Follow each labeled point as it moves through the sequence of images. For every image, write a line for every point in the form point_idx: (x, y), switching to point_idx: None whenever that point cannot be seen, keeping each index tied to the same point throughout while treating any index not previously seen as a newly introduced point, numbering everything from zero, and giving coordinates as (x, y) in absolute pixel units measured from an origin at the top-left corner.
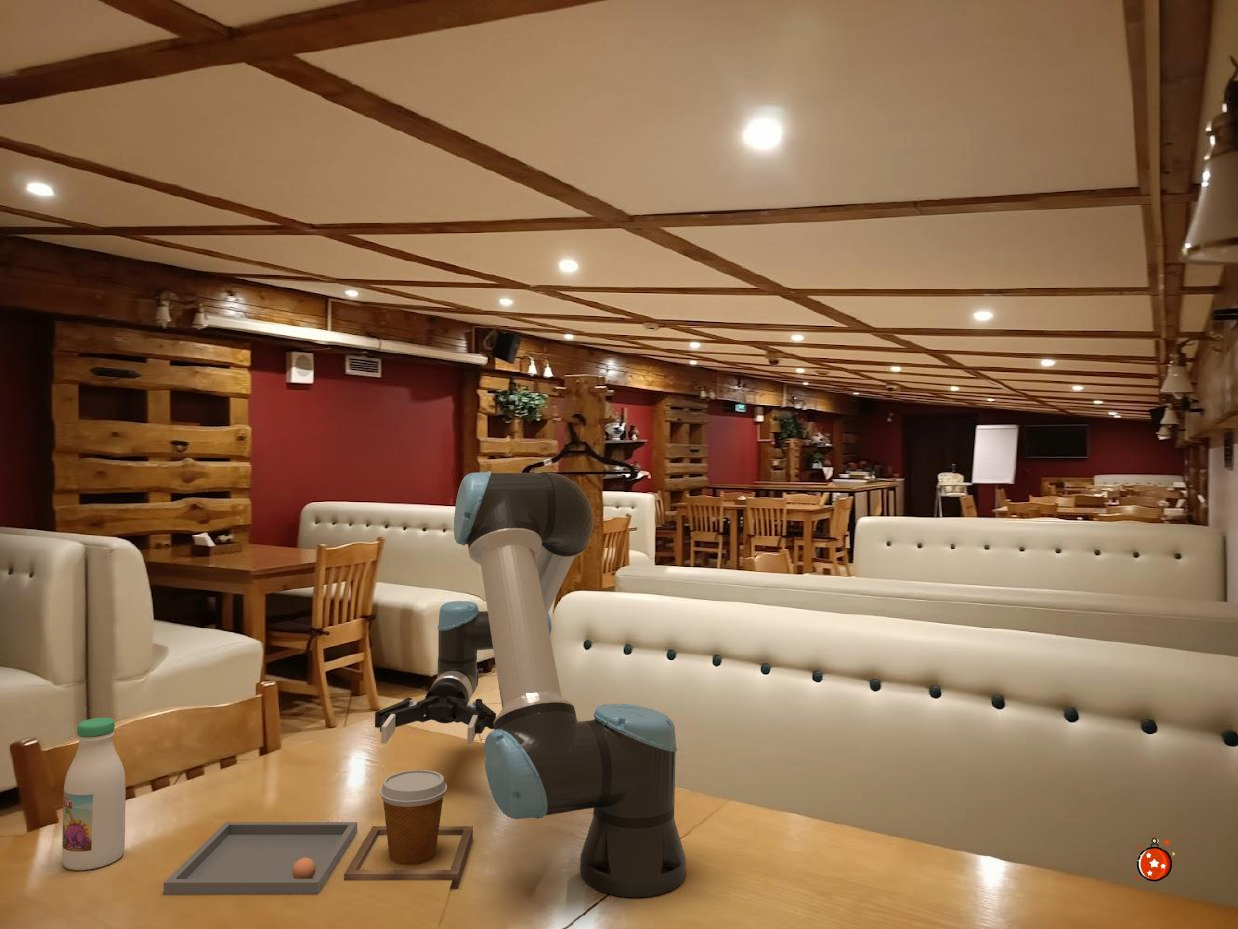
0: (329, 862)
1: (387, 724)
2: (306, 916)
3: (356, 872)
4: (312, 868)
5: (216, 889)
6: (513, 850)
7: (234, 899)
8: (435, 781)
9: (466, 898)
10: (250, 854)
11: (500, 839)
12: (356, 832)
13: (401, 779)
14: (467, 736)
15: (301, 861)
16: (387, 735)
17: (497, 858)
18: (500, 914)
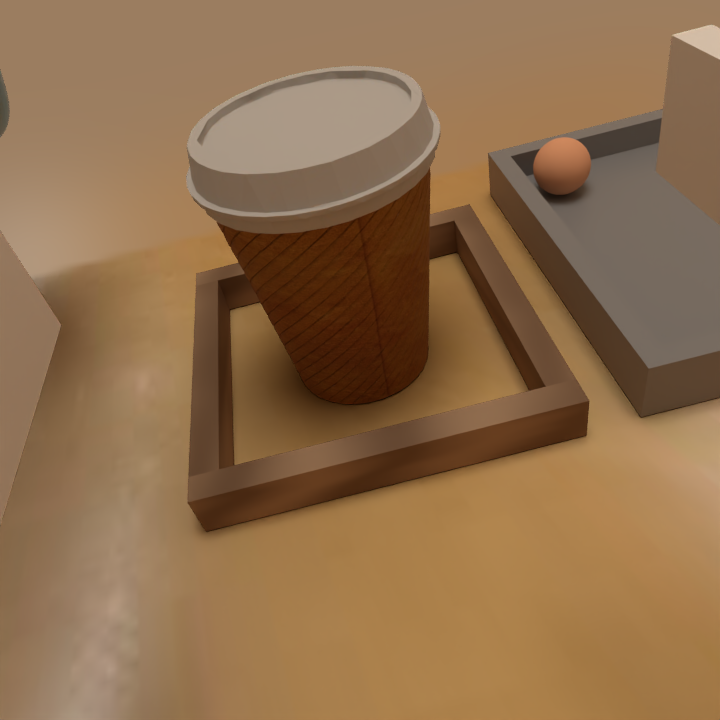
0: (527, 197)
1: (708, 49)
2: (481, 170)
3: (444, 215)
4: (534, 160)
5: None
6: (59, 497)
7: None
8: (222, 148)
9: (183, 283)
10: None
11: (100, 560)
12: (639, 387)
13: (365, 121)
14: (28, 274)
15: (562, 137)
16: (686, 144)
17: (113, 440)
18: (111, 266)
